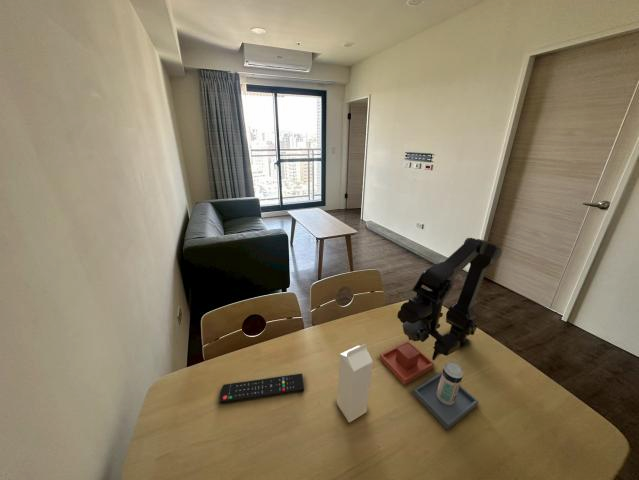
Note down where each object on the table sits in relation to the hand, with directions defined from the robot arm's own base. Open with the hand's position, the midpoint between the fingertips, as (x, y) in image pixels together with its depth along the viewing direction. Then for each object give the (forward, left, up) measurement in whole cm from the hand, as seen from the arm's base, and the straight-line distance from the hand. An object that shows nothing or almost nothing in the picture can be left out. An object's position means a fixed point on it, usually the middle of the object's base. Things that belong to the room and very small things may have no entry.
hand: (421, 349), depth 80 cm
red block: (+2, -3, -7) cm, 8 cm away
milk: (+27, +1, -8) cm, 28 cm away
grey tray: (+2, +12, -8) cm, 14 cm away
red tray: (+2, -3, -8) cm, 9 cm away
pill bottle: (+2, +12, -7) cm, 14 cm away
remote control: (+47, -16, -8) cm, 51 cm away
